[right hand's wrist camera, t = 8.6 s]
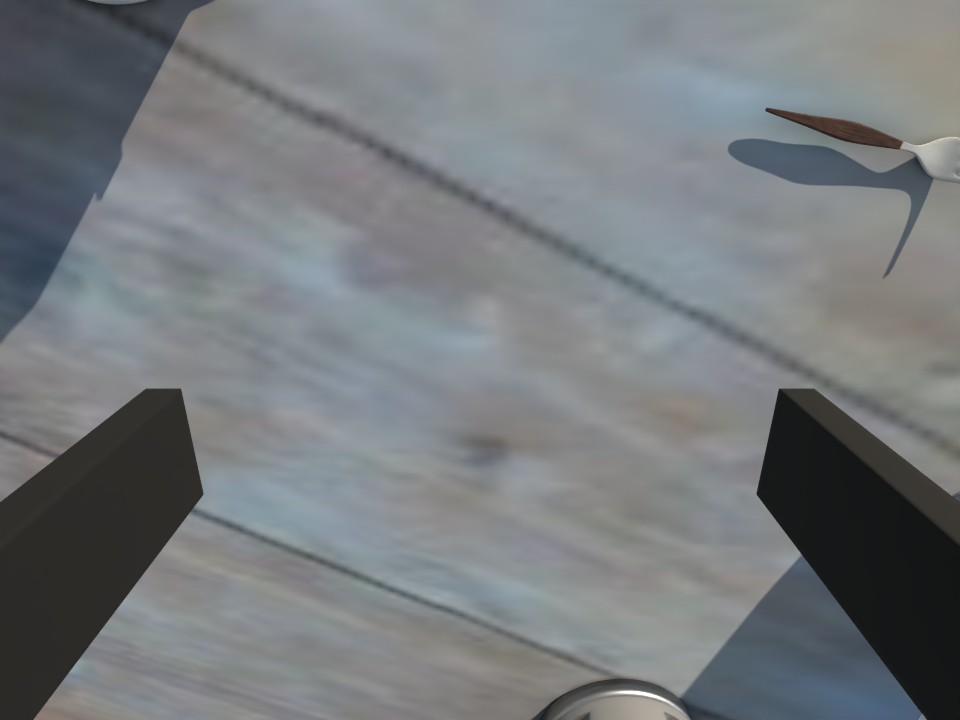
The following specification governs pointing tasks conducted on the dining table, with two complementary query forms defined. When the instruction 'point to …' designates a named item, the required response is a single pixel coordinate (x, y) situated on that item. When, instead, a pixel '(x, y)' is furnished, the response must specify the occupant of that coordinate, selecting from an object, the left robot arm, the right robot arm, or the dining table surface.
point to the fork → (887, 143)
